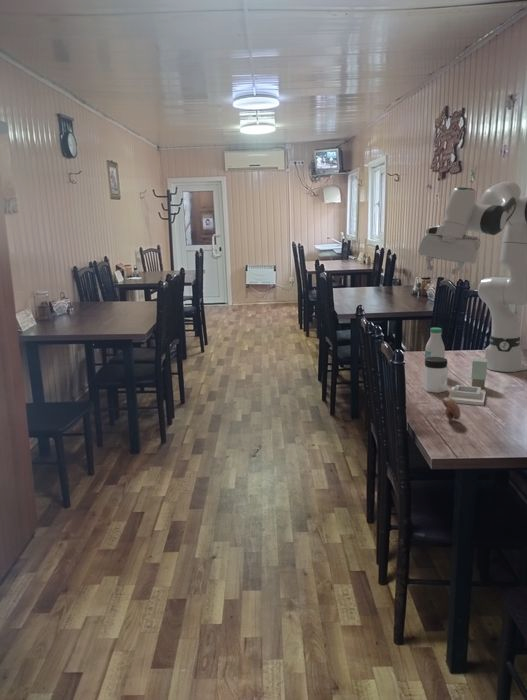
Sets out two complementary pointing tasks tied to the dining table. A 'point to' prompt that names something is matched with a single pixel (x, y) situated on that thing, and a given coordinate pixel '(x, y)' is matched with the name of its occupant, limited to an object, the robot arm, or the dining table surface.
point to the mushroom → (451, 408)
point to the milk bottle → (435, 344)
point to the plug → (479, 372)
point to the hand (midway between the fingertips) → (441, 272)
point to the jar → (435, 374)
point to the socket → (468, 395)
